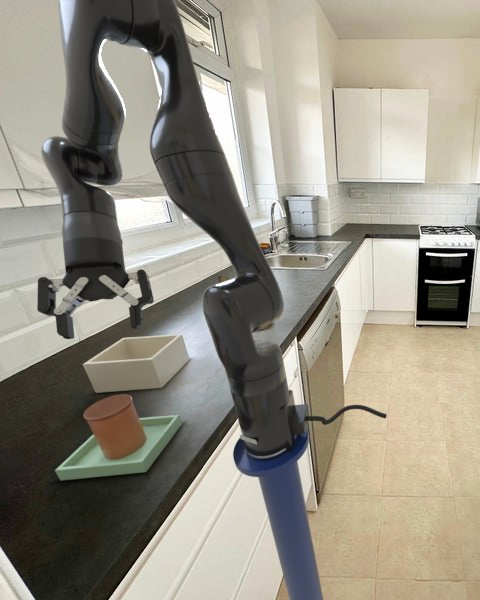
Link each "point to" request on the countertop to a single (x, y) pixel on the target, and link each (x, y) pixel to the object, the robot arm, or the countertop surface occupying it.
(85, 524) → the countertop surface
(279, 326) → the countertop surface
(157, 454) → the shallow green tray
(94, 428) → the terracotta pot
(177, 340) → the cream storage bin
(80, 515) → the countertop surface
